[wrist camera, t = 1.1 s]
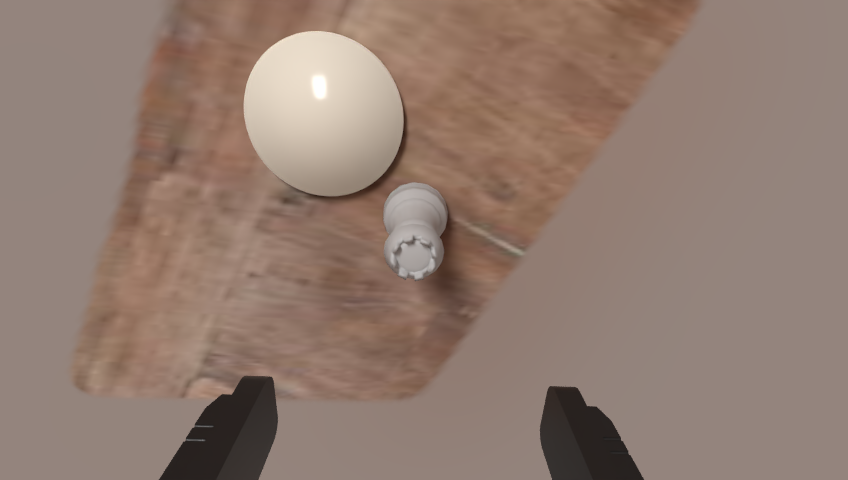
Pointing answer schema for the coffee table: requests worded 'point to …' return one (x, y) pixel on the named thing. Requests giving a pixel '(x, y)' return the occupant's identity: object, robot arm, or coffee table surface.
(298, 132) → the cream round disc
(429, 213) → the rook chess piece
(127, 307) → the coffee table surface
